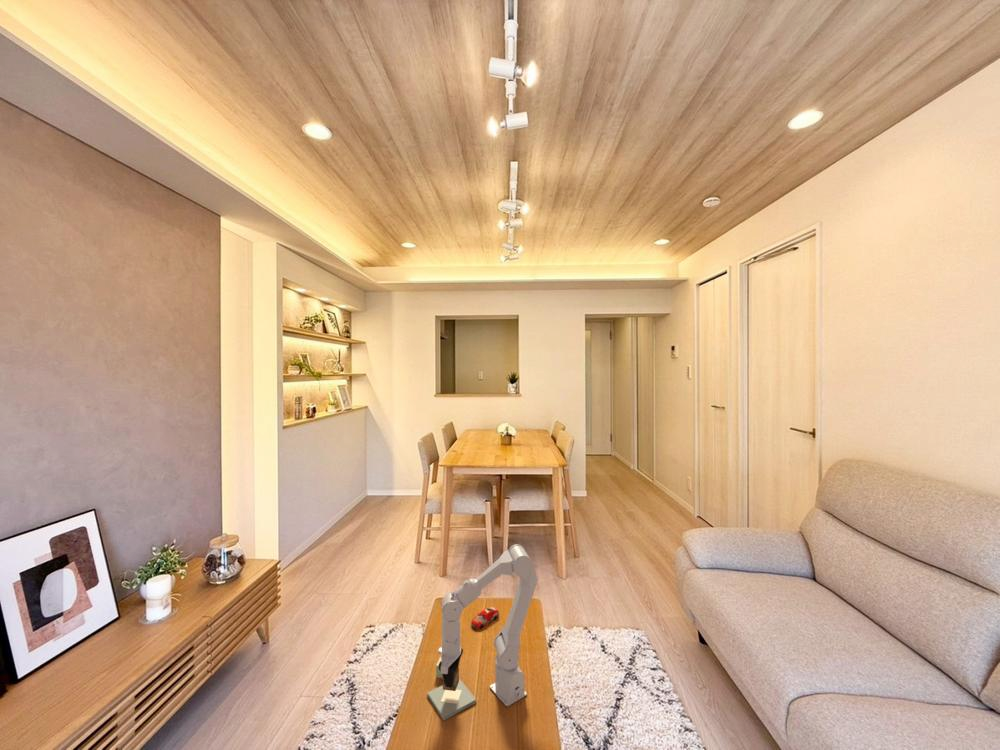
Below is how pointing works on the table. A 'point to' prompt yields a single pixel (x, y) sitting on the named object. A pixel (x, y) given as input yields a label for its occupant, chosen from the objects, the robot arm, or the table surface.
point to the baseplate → (451, 700)
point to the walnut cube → (455, 683)
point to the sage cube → (438, 673)
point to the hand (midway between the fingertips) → (451, 680)
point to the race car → (485, 618)
